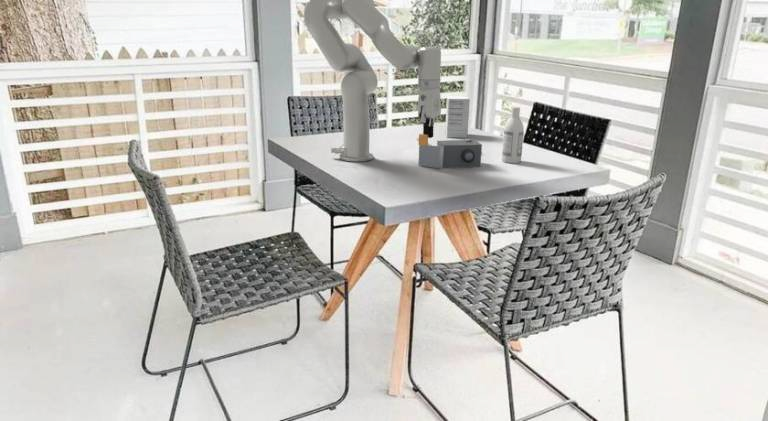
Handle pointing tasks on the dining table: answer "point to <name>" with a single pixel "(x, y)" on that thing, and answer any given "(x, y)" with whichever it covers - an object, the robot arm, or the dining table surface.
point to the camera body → (461, 153)
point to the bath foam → (513, 138)
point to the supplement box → (457, 116)
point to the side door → (430, 153)
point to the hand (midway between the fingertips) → (428, 137)
